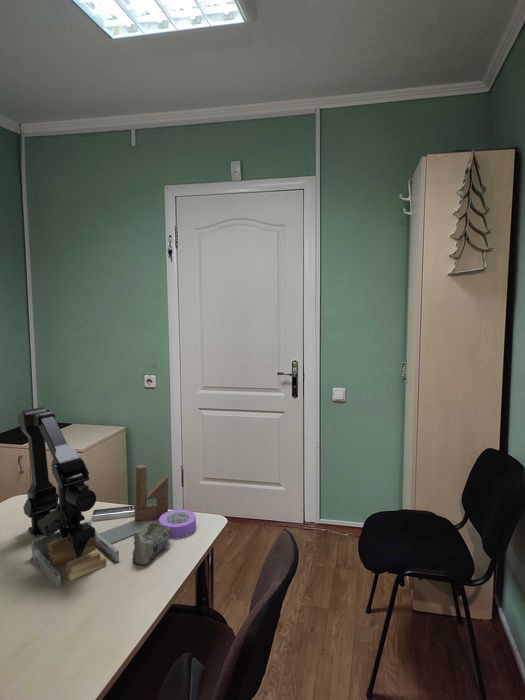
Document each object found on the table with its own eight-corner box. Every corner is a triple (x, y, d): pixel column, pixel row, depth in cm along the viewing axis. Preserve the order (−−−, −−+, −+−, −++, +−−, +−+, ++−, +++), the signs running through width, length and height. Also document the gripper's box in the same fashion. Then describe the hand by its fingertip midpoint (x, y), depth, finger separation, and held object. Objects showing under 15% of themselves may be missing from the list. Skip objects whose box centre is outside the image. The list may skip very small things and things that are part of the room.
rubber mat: (97, 535, 140) (97, 534, 140) (137, 519, 150) (137, 518, 150) (108, 545, 134) (108, 544, 134) (150, 528, 144) (150, 527, 144)
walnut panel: (49, 564, 125) (48, 543, 125) (91, 547, 134) (90, 528, 133) (53, 568, 123) (52, 548, 123) (95, 551, 132) (94, 531, 131)
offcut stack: (65, 575, 120) (64, 562, 119) (101, 560, 127) (100, 547, 126) (70, 581, 117) (69, 567, 117) (107, 565, 124) (106, 552, 124)
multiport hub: (93, 516, 153) (93, 509, 153) (137, 511, 157) (137, 504, 157) (92, 522, 149) (91, 515, 149) (137, 517, 153) (136, 510, 152)
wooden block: (167, 518, 151) (168, 466, 149) (134, 521, 148) (134, 468, 146) (167, 513, 154) (167, 462, 153) (134, 516, 151) (135, 464, 150)
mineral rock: (169, 538, 138) (168, 507, 137) (181, 555, 129) (180, 522, 128) (126, 551, 132) (125, 518, 130) (136, 569, 122) (135, 535, 121)
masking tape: (193, 517, 152) (193, 507, 151) (198, 535, 140) (198, 523, 140) (158, 522, 148) (158, 511, 148) (160, 540, 137) (159, 529, 137)
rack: (32, 557, 128) (31, 541, 128) (90, 535, 140) (89, 520, 139) (57, 587, 115) (55, 569, 114) (119, 560, 127) (118, 543, 126)
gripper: (28, 498, 127) (31, 550, 129) (52, 521, 114) (56, 578, 116) (68, 486, 135) (70, 535, 137) (95, 507, 122) (97, 560, 124)
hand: (72, 551), depth 128 cm, fingers open, 8 cm apart
